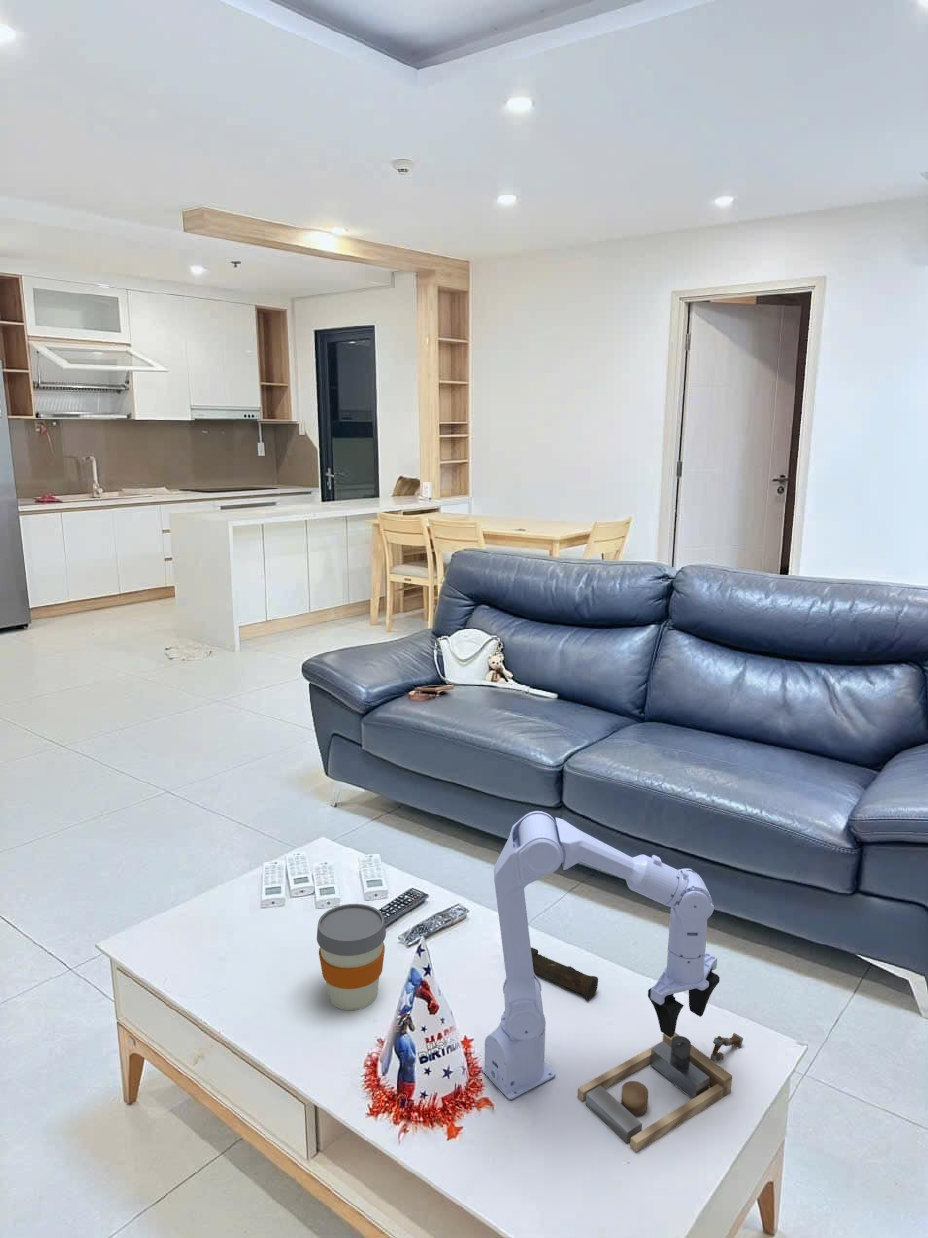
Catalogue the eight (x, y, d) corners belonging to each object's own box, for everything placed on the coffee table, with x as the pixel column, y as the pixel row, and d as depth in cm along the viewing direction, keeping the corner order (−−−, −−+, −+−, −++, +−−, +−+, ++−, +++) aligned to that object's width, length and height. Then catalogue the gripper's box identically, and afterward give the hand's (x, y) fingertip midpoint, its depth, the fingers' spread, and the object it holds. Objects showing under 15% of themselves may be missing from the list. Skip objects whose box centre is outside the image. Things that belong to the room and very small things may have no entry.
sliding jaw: (695, 1101, 135) (698, 1064, 133) (650, 1064, 142) (652, 1028, 141) (708, 1093, 136) (711, 1056, 135) (663, 1057, 144) (665, 1021, 143)
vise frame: (636, 1152, 126) (637, 1134, 125) (577, 1096, 136) (578, 1080, 135) (731, 1091, 137) (732, 1075, 136) (670, 1044, 147) (671, 1029, 147)
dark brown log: (599, 993, 161) (600, 971, 160) (588, 1003, 158) (589, 981, 157) (517, 954, 173) (517, 933, 172) (505, 963, 170) (505, 942, 169)
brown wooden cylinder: (634, 1120, 131) (635, 1104, 131) (615, 1104, 135) (616, 1087, 134) (652, 1109, 133) (653, 1093, 133) (634, 1093, 137) (635, 1077, 136)
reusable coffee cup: (399, 983, 163) (398, 912, 160) (364, 1024, 152) (362, 948, 149) (342, 966, 168) (340, 896, 165) (305, 1004, 157) (302, 931, 154)
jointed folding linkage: (703, 1060, 143) (711, 1033, 143) (726, 1056, 148) (734, 1031, 148) (712, 1066, 141) (720, 1039, 142) (736, 1062, 147) (743, 1036, 147)
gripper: (678, 978, 128) (674, 1057, 131) (735, 942, 137) (729, 1016, 140) (641, 956, 134) (637, 1032, 137) (698, 922, 142) (693, 994, 146)
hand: (681, 1022), depth 139 cm, fingers open, 7 cm apart
